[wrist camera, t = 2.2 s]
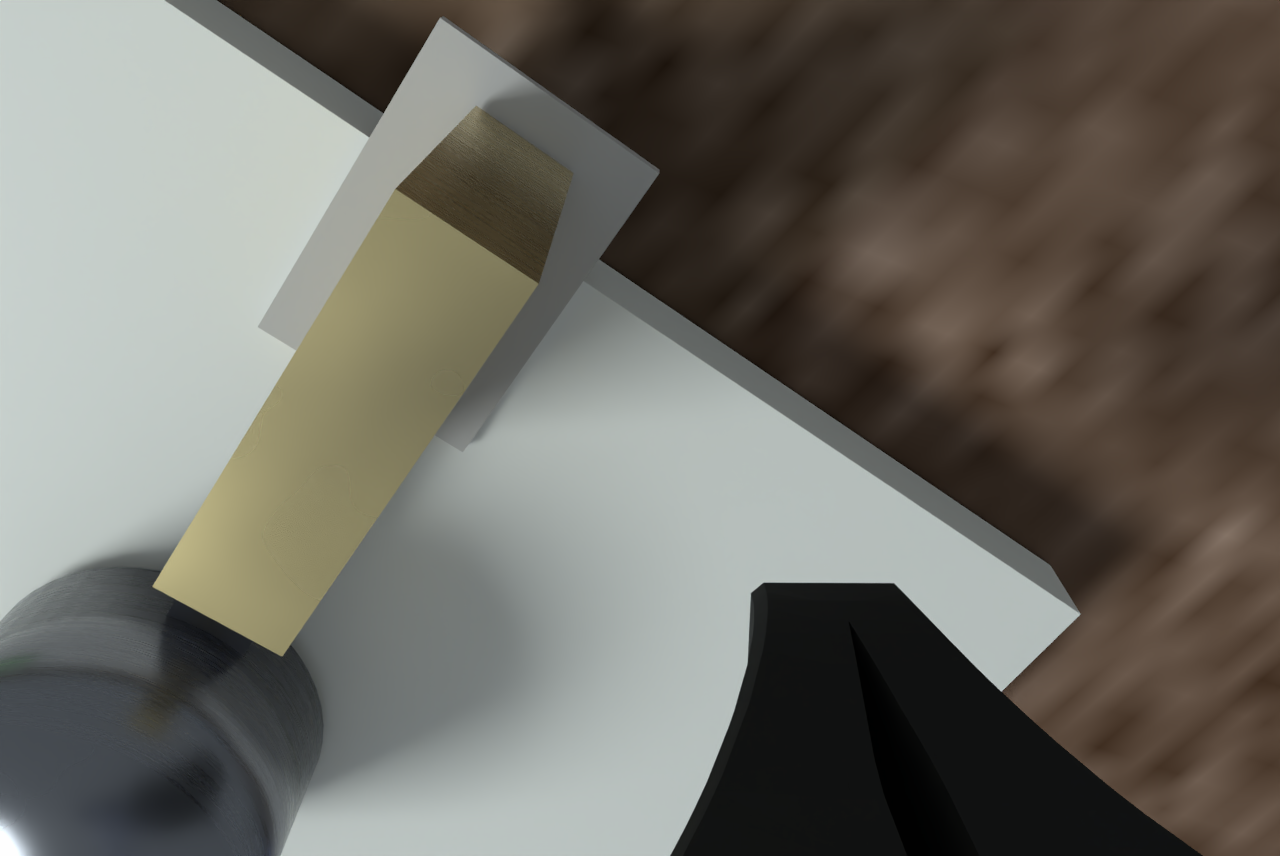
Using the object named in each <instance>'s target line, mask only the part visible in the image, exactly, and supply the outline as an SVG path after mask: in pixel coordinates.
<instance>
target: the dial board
mask: <svg viewBox="0 0 1280 856" xmlns="http://www.w3.org/2000/svg"><path fill="white" fill-rule="evenodd" d="M475 106H478V107H479V108H481V109H482V110H484V111H485V112H486V113H488V114H489V115H491V116H492V117H494V118H495V119H497V120H498V121H499V122H501V123H502V124H504V125H505V126H507V127H508V128H510V129H511V130H512V131H514V132H515V133H517V134H518V135H520V136H521V137H522V138H524V139H525V140H527V141H528V142H530V143H531V144H533V145H534V146H535V147H537V148H538V149H540V150H541V151H543V152H544V153H546V154H547V155H548V156H550V157H551V158H553V159H554V160H556V161H557V162H558V163H560V164H561V165H563V166H564V167H566V168H567V169H569V170H570V171H571V172H573V177H572V180H571V183H570V186H569V189H568V193H567V196H566V199H565V202H564V205H563V208H562V212H561V215H560V218H559V221H558V224H557V228H556V231H555V234H554V237H553V240H552V243H551V247H550V250H549V253H548V256H547V259H546V263H545V266H544V269H543V272H542V275H541V278H540V282H539V284H538V286H537V287H536V289H535V290H534V292H533V293H532V294H531V296H530V297H529V299H528V300H527V302H526V303H525V305H524V306H523V308H522V309H521V310H520V312H519V313H518V315H517V316H516V318H515V319H514V321H513V322H512V324H511V325H510V326H509V328H508V329H507V331H506V332H505V334H504V335H503V337H502V338H501V340H500V341H499V342H498V344H497V345H496V347H495V348H494V350H493V351H492V353H491V354H490V355H489V357H488V358H487V360H486V361H485V363H484V364H483V366H482V367H481V369H480V370H479V371H478V373H477V374H476V376H475V377H474V379H473V380H472V382H471V383H470V385H469V386H468V387H467V389H466V390H465V392H464V393H463V395H462V396H461V398H460V399H459V401H458V402H457V403H456V405H455V406H454V408H453V409H452V411H451V412H450V414H449V415H448V417H447V418H446V419H445V421H444V422H443V424H442V425H441V427H440V428H439V430H438V431H437V433H436V434H435V435H434V437H433V438H432V440H431V441H430V443H429V444H428V446H427V447H426V449H425V450H424V451H423V453H422V454H421V456H420V457H419V459H418V460H417V462H416V463H415V464H414V466H413V467H412V469H411V470H410V472H409V473H408V475H407V476H406V478H405V479H404V480H403V482H402V483H401V485H400V486H399V488H398V489H397V491H396V492H395V494H394V495H393V496H392V498H391V499H390V501H389V502H388V504H387V505H386V507H385V508H384V510H383V511H382V512H381V514H380V515H379V517H378V518H377V520H376V521H375V523H374V524H373V526H372V527H371V528H370V530H369V531H368V533H367V534H366V536H365V537H364V539H363V540H362V542H361V543H360V544H359V546H358V547H357V549H356V550H355V552H354V553H353V555H352V556H351V558H350V559H349V560H348V562H347V563H346V565H345V566H344V568H343V569H342V571H341V572H340V573H339V575H338V576H337V578H336V579H335V581H334V582H333V584H332V585H331V587H330V588H329V589H328V591H327V592H326V594H325V595H324V597H323V598H322V600H321V601H320V603H319V604H318V605H317V607H316V608H315V610H314V611H313V613H312V614H311V616H310V617H309V619H308V620H307V621H306V623H305V624H304V626H303V627H302V629H301V630H300V632H299V633H298V635H297V636H296V637H295V639H294V640H293V642H292V643H291V646H292V647H293V648H294V649H295V651H296V652H297V653H298V655H299V656H300V658H301V659H302V661H303V663H304V664H305V666H306V668H307V669H308V671H309V673H310V675H311V678H312V680H313V682H314V684H315V687H316V689H317V692H318V696H319V700H320V703H321V707H322V715H323V724H324V727H323V743H322V748H321V752H320V757H319V760H318V763H317V765H316V768H315V770H314V773H313V775H312V778H311V780H310V783H309V785H308V788H307V790H306V793H305V795H304V798H303V800H302V803H301V805H300V808H299V810H298V813H297V815H296V818H295V820H294V823H293V825H292V828H291V830H290V833H289V835H288V838H287V840H286V843H285V846H284V848H283V851H282V853H281V856H670V855H671V853H672V851H673V850H674V848H675V846H676V844H677V842H678V840H679V838H680V836H681V834H682V832H683V831H684V829H685V827H686V825H687V823H688V821H689V819H690V817H691V815H692V813H693V811H694V809H695V806H696V804H697V802H698V800H699V798H700V796H701V793H702V791H703V789H704V787H705V785H706V782H707V780H708V778H709V775H710V773H711V770H712V768H713V765H714V763H715V760H716V758H717V755H718V753H719V750H720V747H721V745H722V742H723V740H724V737H725V735H726V732H727V730H728V727H729V724H730V722H731V719H732V716H733V713H734V710H735V706H736V703H737V699H738V696H739V692H740V689H741V685H742V682H743V678H744V675H745V671H746V668H747V663H748V644H749V623H750V602H751V593H752V592H753V591H754V590H755V589H756V588H758V587H759V586H760V585H761V584H763V583H894V584H895V585H896V586H897V587H898V588H899V589H900V590H901V591H902V592H903V593H904V594H905V595H906V596H907V597H908V598H909V599H910V600H911V601H912V602H913V603H914V604H915V605H916V606H917V607H918V608H919V609H920V610H921V611H922V612H923V613H924V614H925V615H926V616H927V617H928V618H929V620H930V621H931V622H932V623H933V624H934V625H935V626H936V627H937V628H938V629H939V630H940V631H941V632H942V633H943V634H944V635H945V636H946V637H947V638H948V639H949V640H950V641H951V642H952V643H953V644H954V645H955V646H956V647H957V648H958V649H959V650H960V651H961V652H962V653H963V654H964V655H965V656H966V657H967V659H968V660H969V661H970V662H971V663H972V664H973V665H974V666H975V667H976V668H977V669H978V670H979V671H980V672H981V673H982V674H984V675H985V676H986V677H987V678H988V679H989V680H990V681H991V682H992V683H993V684H994V685H995V686H996V687H997V688H998V689H999V690H1000V691H1001V692H1002V691H1003V690H1004V689H1005V688H1006V687H1007V686H1008V685H1009V684H1010V683H1011V682H1012V681H1013V680H1014V679H1015V678H1016V677H1017V676H1018V675H1019V674H1020V673H1021V672H1022V671H1023V670H1024V669H1025V668H1026V667H1027V666H1028V665H1029V664H1030V663H1031V662H1032V661H1033V660H1034V659H1035V658H1036V657H1037V656H1038V655H1039V654H1040V653H1041V652H1042V651H1043V650H1045V649H1046V648H1047V647H1048V646H1049V645H1050V644H1051V643H1052V642H1053V641H1054V640H1055V639H1056V638H1057V637H1058V636H1059V635H1060V634H1061V633H1062V632H1063V631H1064V630H1065V629H1066V628H1067V627H1068V626H1069V625H1070V624H1071V623H1072V622H1073V621H1074V620H1075V619H1076V618H1077V617H1078V616H1079V615H1080V612H1079V611H1078V609H1077V607H1076V606H1075V604H1074V603H1073V601H1072V599H1071V598H1070V596H1069V594H1068V593H1067V591H1066V590H1065V588H1064V586H1063V585H1062V583H1061V582H1060V580H1059V578H1058V577H1057V575H1056V574H1055V572H1054V570H1053V569H1052V567H1051V566H1050V565H1049V564H1048V563H1046V562H1045V561H1043V560H1042V559H1040V558H1039V557H1037V556H1036V555H1034V554H1033V553H1032V552H1030V551H1029V550H1027V549H1026V548H1024V547H1023V546H1021V545H1020V544H1018V543H1017V542H1015V541H1014V540H1012V539H1011V538H1009V537H1008V536H1006V535H1005V534H1003V533H1002V532H1001V531H999V530H998V529H996V528H995V527H993V526H992V525H990V524H989V523H987V522H986V521H984V520H983V519H981V518H980V517H978V516H977V515H975V514H974V513H972V512H971V511H970V510H968V509H967V508H965V507H964V506H962V505H961V504H959V503H958V502H956V501H955V500H953V499H952V498H950V497H949V496H947V495H946V494H944V493H943V492H942V491H940V490H939V489H937V488H936V487H934V486H933V485H931V484H930V483H928V482H927V481H925V480H924V479H922V478H921V477H919V476H918V475H916V474H915V473H913V472H912V471H911V470H909V469H908V468H906V467H905V466H903V465H902V464H900V463H899V462H897V461H896V460H894V459H893V458H891V457H890V456H888V455H887V454H885V453H884V452H882V451H881V450H880V449H878V448H877V447H875V446H874V445H872V444H871V443H869V442H868V441H866V440H865V439H863V438H862V437H860V436H859V435H857V434H856V433H854V432H853V431H851V430H850V429H849V428H847V427H846V426H844V425H843V424H841V423H840V422H838V421H837V420H835V419H834V418H832V417H831V416H829V415H828V414H826V413H825V412H823V411H822V410H821V409H819V408H818V407H816V406H815V405H813V404H812V403H810V402H809V401H807V400H806V399H804V398H803V397H801V396H800V395H798V394H797V393H795V392H794V391H792V390H791V389H790V388H788V387H787V386H785V385H784V384H782V383H781V382H779V381H778V380H776V379H775V378H773V377H772V376H770V375H769V374H767V373H766V372H764V371H763V370H761V369H760V368H759V367H757V366H756V365H754V364H753V363H751V362H750V361H748V360H747V359H745V358H744V357H742V356H741V355H739V354H738V353H736V352H735V351H733V350H732V349H730V348H729V347H728V346H726V345H725V344H723V343H722V342H720V341H719V340H717V339H716V338H714V337H713V336H711V335H710V334H708V333H707V332H705V331H704V330H702V329H701V328H700V327H698V326H697V325H695V324H694V323H692V322H691V321H689V320H688V319H686V318H685V317H683V316H682V315H680V314H679V313H677V312H676V311H674V310H673V309H671V308H670V307H669V306H667V305H666V304H664V303H663V302H661V301H660V300H658V299H657V298H655V297H654V296H652V295H651V294H649V293H648V292H646V291H645V290H643V289H642V288H640V287H639V286H638V285H636V284H635V283H633V282H632V281H630V280H629V279H627V278H626V277H624V276H623V275H621V274H620V273H618V272H617V271H615V270H614V269H612V268H611V267H609V266H608V265H607V264H605V263H604V262H602V261H601V260H599V258H600V257H601V255H602V254H603V253H604V251H605V250H606V248H607V247H608V245H609V244H610V243H611V241H612V240H613V238H614V237H615V236H616V234H617V233H618V231H619V230H620V228H621V227H622V226H623V224H624V223H625V221H626V220H627V218H628V217H629V216H630V214H631V213H632V211H633V210H634V209H635V207H636V206H637V204H638V203H639V201H640V200H641V199H642V197H643V196H644V194H645V193H646V192H647V190H648V189H649V187H650V186H651V184H652V183H653V182H654V180H655V179H656V177H657V176H658V174H659V169H658V168H656V167H655V166H654V165H652V164H651V163H649V162H648V161H647V160H645V159H644V158H642V157H641V156H640V155H638V154H637V153H635V152H634V151H633V150H631V149H630V148H628V147H627V146H625V145H624V144H623V143H621V142H620V141H618V140H617V139H616V138H614V137H613V136H611V135H610V134H609V133H607V132H606V131H604V130H603V129H602V128H600V127H599V126H597V125H596V124H595V123H593V122H592V121H590V120H589V119H587V118H586V117H585V116H583V115H582V114H580V113H579V112H578V111H576V110H575V109H573V108H572V107H571V106H569V105H568V104H566V103H565V102H564V101H562V100H561V99H559V98H558V97H556V96H555V95H554V94H552V93H551V92H549V91H548V90H547V89H545V88H544V87H542V86H541V85H540V84H538V83H537V82H535V81H534V80H533V79H531V78H530V77H528V76H527V75H525V74H524V73H523V72H521V71H520V70H518V69H517V68H516V67H514V66H513V65H511V64H510V63H509V62H507V61H506V60H504V59H503V58H502V57H500V56H499V55H497V54H496V53H494V52H493V51H492V50H490V49H489V48H487V47H486V46H485V45H483V44H482V43H480V42H479V41H478V40H476V39H475V38H473V37H472V36H471V35H469V34H468V33H466V32H465V31H464V30H462V29H461V28H459V27H458V26H456V25H455V24H454V23H452V22H451V21H449V20H448V19H447V18H445V17H444V16H443V17H441V18H440V19H439V21H438V22H437V24H436V26H435V27H434V29H433V31H432V32H431V34H430V36H429V37H428V39H427V41H426V43H425V44H424V46H423V48H422V49H421V51H420V53H419V54H418V56H417V58H416V59H415V61H414V63H413V65H412V66H411V68H410V70H409V71H408V73H407V75H406V76H405V78H404V80H403V81H402V83H401V85H400V87H399V88H398V90H397V92H396V93H395V95H394V97H393V98H392V100H391V102H390V104H389V105H388V107H387V109H386V110H385V112H384V113H382V112H381V111H379V110H378V109H376V108H375V107H373V106H372V105H370V104H369V103H367V102H366V101H365V100H363V99H362V98H360V97H359V96H357V95H356V94H354V93H353V92H351V91H350V90H348V89H347V88H345V87H344V86H342V85H341V84H339V83H338V82H337V81H335V80H334V79H332V78H331V77H329V76H328V75H326V74H325V73H323V72H322V71H320V70H319V69H317V68H316V67H314V66H313V65H311V64H310V63H308V62H307V61H306V60H304V59H303V58H301V57H300V56H298V55H297V54H295V53H294V52H292V51H291V50H289V49H288V48H286V47H285V46H283V45H282V44H280V43H279V42H277V41H276V40H275V39H273V38H272V37H270V36H269V35H267V34H266V33H264V32H263V31H261V30H260V29H258V28H257V27H255V26H254V25H252V24H251V23H249V22H248V21H246V20H245V19H244V18H242V17H241V16H239V15H238V14H236V13H235V12H233V11H232V10H230V9H229V8H227V7H226V6H224V5H223V4H221V3H220V2H218V1H217V0H0V621H1V620H2V619H3V618H4V617H5V615H6V614H7V613H8V612H9V611H10V610H11V609H12V608H13V607H14V606H15V605H16V604H17V603H18V602H19V601H21V600H22V599H23V598H25V597H26V596H27V595H29V594H30V593H31V592H33V591H34V590H36V589H38V588H40V587H41V586H43V585H45V584H47V583H49V582H51V581H53V580H56V579H59V578H62V577H64V576H67V575H70V574H73V573H78V572H83V571H87V570H92V569H101V568H112V567H131V568H145V569H153V570H160V571H162V570H163V568H164V566H165V565H166V563H167V561H168V560H169V558H170V557H171V555H172V553H173V552H174V550H175V548H176V547H177V545H178V543H179V542H180V540H181V539H182V537H183V535H184V534H185V532H186V530H187V529H188V527H189V525H190V524H191V522H192V521H193V519H194V517H195V516H196V514H197V512H198V511H199V509H200V507H201V506H202V504H203V503H204V501H205V499H206V498H207V496H208V494H209V493H210V491H211V489H212V488H213V486H214V485H215V483H216V481H217V480H218V478H219V476H220V475H221V473H222V471H223V470H224V468H225V467H226V465H227V463H228V462H229V460H230V458H231V457H232V455H233V453H234V452H235V450H236V449H237V447H238V445H239V444H240V442H241V440H242V439H243V437H244V435H245V434H246V432H247V431H248V429H249V427H250V426H251V424H252V422H253V421H254V419H255V417H256V416H257V414H258V413H259V411H260V409H261V408H262V406H263V404H264V403H265V401H266V399H267V398H268V396H269V395H270V393H271V391H272V390H273V388H274V386H275V385H276V383H277V381H278V380H279V378H280V377H281V375H282V373H283V372H284V370H285V368H286V367H287V365H288V363H289V362H290V360H291V359H292V357H293V355H294V354H295V352H296V350H297V349H298V347H299V346H300V344H301V342H302V341H303V339H304V337H305V336H306V334H307V332H308V331H309V329H310V328H311V326H312V324H313V323H314V321H315V319H316V318H317V316H318V314H319V313H320V311H321V310H322V308H323V306H324V305H325V303H326V301H327V300H328V298H329V296H330V295H331V293H332V292H333V290H334V288H335V287H336V285H337V283H338V282H339V280H340V278H341V277H342V275H343V274H344V272H345V270H346V269H347V267H348V265H349V264H350V262H351V260H352V259H353V257H354V256H355V254H356V252H357V251H358V249H359V247H360V246H361V244H362V242H363V241H364V239H365V238H366V236H367V234H368V233H369V231H370V229H371V228H372V226H373V224H374V223H375V221H376V220H377V218H378V216H379V215H380V213H381V211H382V210H383V208H384V206H385V205H386V203H387V202H388V200H389V198H390V197H391V195H392V193H393V192H394V190H395V189H396V188H397V187H398V185H399V184H400V183H401V182H402V181H403V180H404V179H405V178H406V177H407V176H408V175H409V174H410V173H411V172H412V171H413V170H414V169H415V168H416V167H417V166H418V165H419V164H420V163H421V162H422V161H423V160H424V159H425V158H426V157H427V156H428V155H429V154H430V153H431V152H432V150H433V149H434V148H435V147H436V146H437V145H438V144H439V143H440V142H441V141H442V140H443V139H444V138H445V137H446V136H447V135H448V134H449V133H450V132H451V131H452V130H453V129H454V128H455V127H456V126H457V125H458V124H459V123H460V122H461V121H462V120H463V119H464V118H465V116H466V115H467V114H468V113H469V112H470V111H471V110H472V109H473V108H474V107H475Z"/></svg>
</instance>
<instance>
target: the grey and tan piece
mask: <svg viewBox="0 0 1280 856" xmlns="http://www.w3.org/2000/svg"><path fill="white" fill-rule="evenodd" d="M572 177H573V172H571V171H570V170H569V169H567V168H566V167H564V166H563V165H561V164H560V163H558V162H557V161H556V160H554V159H553V158H551V157H550V156H548V155H547V154H546V153H544V152H543V151H541V150H540V149H538V148H537V147H535V146H534V145H533V144H531V143H530V142H528V141H527V140H525V139H524V138H522V137H521V136H520V135H518V134H517V133H515V132H514V131H512V130H511V129H510V128H508V127H507V126H505V125H504V124H502V123H501V122H499V121H498V120H497V119H495V118H494V117H492V116H491V115H489V114H488V113H486V112H485V111H484V110H482V109H481V108H479V107H478V106H475V107H474V108H473V109H472V110H471V111H470V112H469V113H468V114H467V115H466V116H465V118H464V119H463V120H462V121H461V122H460V123H459V124H458V125H457V126H456V127H455V128H454V129H453V130H452V131H451V132H450V133H449V134H448V135H447V136H446V137H445V138H444V139H443V140H442V141H441V142H440V143H439V144H438V145H437V146H436V147H435V148H434V149H433V150H432V152H431V153H430V154H429V155H428V156H427V157H426V158H425V159H424V160H423V161H422V162H421V163H420V164H419V165H418V166H417V167H416V168H415V169H414V170H413V171H412V172H411V173H410V174H409V175H408V176H407V177H406V178H405V179H404V180H403V181H402V182H401V183H400V184H399V185H398V187H397V188H396V189H395V190H394V192H393V193H392V195H391V197H390V198H389V200H388V202H387V203H386V205H385V206H384V208H383V210H382V211H381V213H380V215H379V216H378V218H377V220H376V221H375V223H374V224H373V226H372V228H371V229H370V231H369V233H368V234H367V236H366V238H365V239H364V241H363V242H362V244H361V246H360V247H359V249H358V251H357V252H356V254H355V256H354V257H353V259H352V260H351V262H350V264H349V265H348V267H347V269H346V270H345V272H344V274H343V275H342V277H341V278H340V280H339V282H338V283H337V285H336V287H335V288H334V290H333V292H332V293H331V295H330V296H329V298H328V300H327V301H326V303H325V305H324V306H323V308H322V310H321V311H320V313H319V314H318V316H317V318H316V319H315V321H314V323H313V324H312V326H311V328H310V329H309V331H308V332H307V334H306V336H305V337H304V339H303V341H302V342H301V344H300V346H299V347H298V349H297V350H296V352H295V354H294V355H293V357H292V359H291V360H290V362H289V363H288V365H287V367H286V368H285V370H284V372H283V373H282V375H281V377H280V378H279V380H278V381H277V383H276V385H275V386H274V388H273V390H272V391H271V393H270V395H269V396H268V398H267V399H266V401H265V403H264V404H263V406H262V408H261V409H260V411H259V413H258V414H257V416H256V417H255V419H254V421H253V422H252V424H251V426H250V427H249V429H248V431H247V432H246V434H245V435H244V437H243V439H242V440H241V442H240V444H239V445H238V447H237V449H236V450H235V452H234V453H233V455H232V457H231V458H230V460H229V462H228V463H227V465H226V467H225V468H224V470H223V471H222V473H221V475H220V476H219V478H218V480H217V481H216V483H215V485H214V486H213V488H212V489H211V491H210V493H209V494H208V496H207V498H206V499H205V501H204V503H203V504H202V506H201V507H200V509H199V511H198V512H197V514H196V516H195V517H194V519H193V521H192V522H191V524H190V525H189V527H188V529H187V530H186V532H185V534H184V535H183V537H182V539H181V540H180V542H179V543H178V545H177V547H176V548H175V550H174V552H173V553H172V555H171V557H170V558H169V560H168V561H167V563H166V565H165V566H164V568H163V570H162V571H160V570H153V569H145V568H131V567H112V568H101V569H92V570H87V571H83V572H78V573H73V574H70V575H67V576H64V577H62V578H59V579H56V580H53V581H51V582H49V583H47V584H45V585H43V586H41V587H40V588H38V589H36V590H34V591H33V592H31V593H30V594H29V595H27V596H26V597H25V598H23V599H22V600H21V601H19V602H18V603H17V604H16V605H15V606H14V607H13V608H12V609H11V610H10V611H9V612H8V613H7V614H6V615H5V617H4V618H3V619H2V620H1V621H0V856H281V853H282V851H283V848H284V846H285V843H286V840H287V838H288V835H289V833H290V830H291V828H292V825H293V823H294V820H295V818H296V815H297V813H298V810H299V808H300V805H301V803H302V800H303V798H304V795H305V793H306V790H307V788H308V785H309V783H310V780H311V778H312V775H313V773H314V770H315V768H316V765H317V763H318V760H319V757H320V752H321V748H322V743H323V727H324V724H323V715H322V707H321V703H320V700H319V696H318V692H317V689H316V687H315V684H314V682H313V680H312V678H311V675H310V673H309V671H308V669H307V668H306V666H305V664H304V663H303V661H302V659H301V658H300V656H299V655H298V653H297V652H296V651H295V649H294V648H293V647H292V646H291V643H292V642H293V640H294V639H295V637H296V636H297V635H298V633H299V632H300V630H301V629H302V627H303V626H304V624H305V623H306V621H307V620H308V619H309V617H310V616H311V614H312V613H313V611H314V610H315V608H316V607H317V605H318V604H319V603H320V601H321V600H322V598H323V597H324V595H325V594H326V592H327V591H328V589H329V588H330V587H331V585H332V584H333V582H334V581H335V579H336V578H337V576H338V575H339V573H340V572H341V571H342V569H343V568H344V566H345V565H346V563H347V562H348V560H349V559H350V558H351V556H352V555H353V553H354V552H355V550H356V549H357V547H358V546H359V544H360V543H361V542H362V540H363V539H364V537H365V536H366V534H367V533H368V531H369V530H370V528H371V527H372V526H373V524H374V523H375V521H376V520H377V518H378V517H379V515H380V514H381V512H382V511H383V510H384V508H385V507H386V505H387V504H388V502H389V501H390V499H391V498H392V496H393V495H394V494H395V492H396V491H397V489H398V488H399V486H400V485H401V483H402V482H403V480H404V479H405V478H406V476H407V475H408V473H409V472H410V470H411V469H412V467H413V466H414V464H415V463H416V462H417V460H418V459H419V457H420V456H421V454H422V453H423V451H424V450H425V449H426V447H427V446H428V444H429V443H430V441H431V440H432V438H433V437H434V435H435V434H436V433H437V431H438V430H439V428H440V427H441V425H442V424H443V422H444V421H445V419H446V418H447V417H448V415H449V414H450V412H451V411H452V409H453V408H454V406H455V405H456V403H457V402H458V401H459V399H460V398H461V396H462V395H463V393H464V392H465V390H466V389H467V387H468V386H469V385H470V383H471V382H472V380H473V379H474V377H475V376H476V374H477V373H478V371H479V370H480V369H481V367H482V366H483V364H484V363H485V361H486V360H487V358H488V357H489V355H490V354H491V353H492V351H493V350H494V348H495V347H496V345H497V344H498V342H499V341H500V340H501V338H502V337H503V335H504V334H505V332H506V331H507V329H508V328H509V326H510V325H511V324H512V322H513V321H514V319H515V318H516V316H517V315H518V313H519V312H520V310H521V309H522V308H523V306H524V305H525V303H526V302H527V300H528V299H529V297H530V296H531V294H532V293H533V292H534V290H535V289H536V287H537V286H538V284H539V282H540V278H541V275H542V272H543V269H544V266H545V263H546V259H547V256H548V253H549V250H550V247H551V243H552V240H553V237H554V234H555V231H556V228H557V224H558V221H559V218H560V215H561V212H562V208H563V205H564V202H565V199H566V196H567V193H568V189H569V186H570V183H571V180H572Z"/></svg>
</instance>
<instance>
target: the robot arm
mask: <svg viewBox="0 0 1280 856" xmlns="http://www.w3.org/2000/svg"><path fill="white" fill-rule="evenodd" d="M670 856H1202V855H1201V854H1200V853H1198V852H1197V851H1195V850H1194V849H1193V848H1191V847H1190V846H1188V845H1187V844H1186V843H1184V842H1183V841H1182V840H1180V839H1179V838H1177V837H1176V836H1175V835H1173V834H1172V833H1170V832H1169V831H1168V830H1166V829H1165V828H1163V827H1162V826H1161V825H1159V824H1158V823H1156V822H1155V821H1154V820H1152V819H1151V818H1150V817H1148V816H1147V815H1145V814H1144V813H1143V812H1141V811H1140V810H1139V809H1138V808H1136V807H1135V806H1134V805H1132V804H1131V803H1130V802H1129V801H1127V800H1126V799H1125V798H1123V797H1122V796H1121V795H1120V794H1118V793H1117V792H1116V791H1114V790H1113V789H1112V788H1111V787H1109V786H1108V785H1107V784H1106V783H1105V782H1103V781H1102V780H1101V779H1100V778H1099V777H1097V776H1096V775H1095V774H1094V773H1093V772H1092V771H1090V770H1089V769H1088V768H1087V767H1086V766H1084V765H1083V764H1082V763H1081V762H1080V761H1078V760H1077V759H1076V758H1075V757H1074V756H1072V755H1071V754H1070V753H1069V752H1068V751H1066V750H1065V749H1064V748H1063V747H1062V746H1060V745H1059V744H1058V743H1057V742H1056V741H1055V740H1054V739H1052V738H1051V737H1050V736H1049V735H1048V734H1047V733H1046V732H1045V731H1043V730H1042V729H1041V728H1040V727H1039V726H1038V725H1037V724H1036V723H1035V722H1033V721H1032V720H1031V719H1030V718H1029V717H1028V716H1027V715H1026V714H1025V713H1023V712H1022V711H1021V710H1020V709H1019V708H1018V707H1017V706H1016V705H1015V704H1014V703H1013V702H1012V701H1011V700H1010V699H1009V698H1007V697H1006V696H1005V695H1004V694H1003V693H1002V692H1001V691H1000V690H999V689H998V688H997V687H996V686H995V685H994V684H993V683H992V682H991V681H990V680H989V679H988V678H987V677H986V676H985V675H984V674H982V673H981V672H980V671H979V670H978V669H977V668H976V667H975V666H974V665H973V664H972V663H971V662H970V661H969V660H968V659H967V657H966V656H965V655H964V654H963V653H962V652H961V651H960V650H959V649H958V648H957V647H956V646H955V645H954V644H953V643H952V642H951V641H950V640H949V639H948V638H947V637H946V636H945V635H944V634H943V633H942V632H941V631H940V630H939V629H938V628H937V627H936V626H935V625H934V624H933V623H932V622H931V621H930V620H929V618H928V617H927V616H926V615H925V614H924V613H923V612H922V611H921V610H920V609H919V608H918V607H917V606H916V605H915V604H914V603H913V602H912V601H911V600H910V599H909V598H908V597H907V596H906V595H905V594H904V593H903V592H902V591H901V590H900V589H899V588H898V587H897V586H896V585H895V584H894V583H763V584H761V585H760V586H759V587H758V588H756V589H755V590H754V591H753V592H752V593H751V602H750V623H749V644H748V663H747V668H746V671H745V675H744V678H743V682H742V685H741V689H740V692H739V696H738V699H737V703H736V706H735V710H734V713H733V716H732V719H731V722H730V724H729V727H728V730H727V732H726V735H725V737H724V740H723V742H722V745H721V747H720V750H719V753H718V755H717V758H716V760H715V763H714V765H713V768H712V770H711V773H710V775H709V778H708V780H707V782H706V785H705V787H704V789H703V791H702V793H701V796H700V798H699V800H698V802H697V804H696V806H695V809H694V811H693V813H692V815H691V817H690V819H689V821H688V823H687V825H686V827H685V829H684V831H683V832H682V834H681V836H680V838H679V840H678V842H677V844H676V846H675V848H674V850H673V851H672V853H671V855H670Z"/></svg>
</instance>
